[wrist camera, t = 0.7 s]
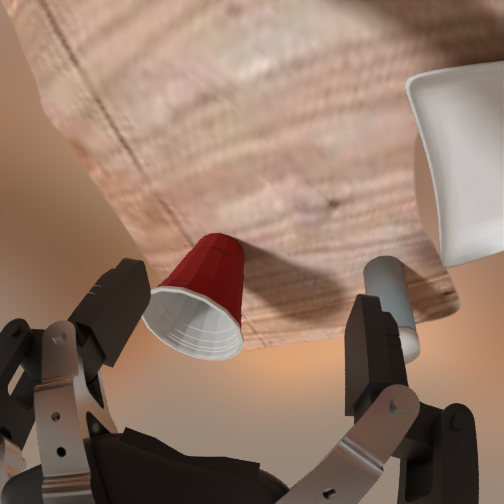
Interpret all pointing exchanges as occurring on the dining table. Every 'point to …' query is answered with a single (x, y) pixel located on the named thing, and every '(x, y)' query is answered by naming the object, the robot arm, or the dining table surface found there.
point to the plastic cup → (201, 301)
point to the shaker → (394, 299)
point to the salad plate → (464, 155)
